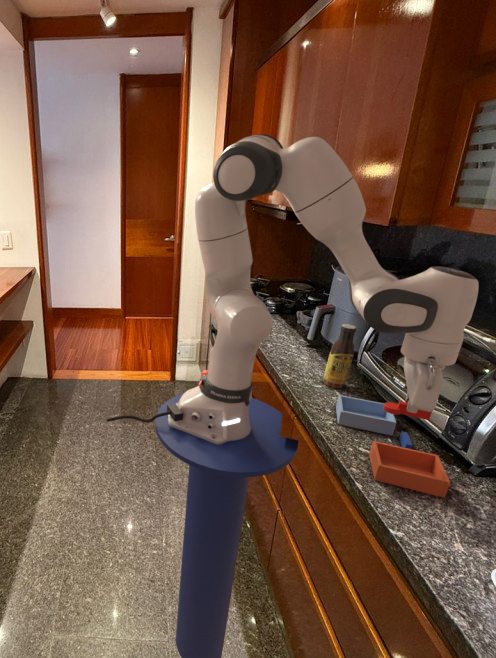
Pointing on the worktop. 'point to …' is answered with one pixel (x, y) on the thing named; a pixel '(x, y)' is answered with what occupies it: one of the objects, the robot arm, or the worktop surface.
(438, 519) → the worktop surface
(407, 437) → the blue spoon
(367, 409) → the blue bin
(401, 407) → the red spoon
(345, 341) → the sauce bottle
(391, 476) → the terracotta bin
